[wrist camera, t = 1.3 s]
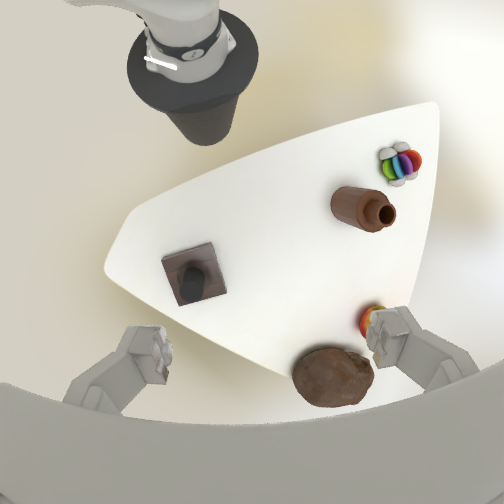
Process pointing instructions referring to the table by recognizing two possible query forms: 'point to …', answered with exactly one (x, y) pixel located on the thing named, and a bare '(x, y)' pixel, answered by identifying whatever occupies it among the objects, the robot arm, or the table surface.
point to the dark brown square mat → (200, 259)
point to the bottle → (363, 208)
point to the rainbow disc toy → (400, 163)
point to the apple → (368, 319)
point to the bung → (192, 285)
